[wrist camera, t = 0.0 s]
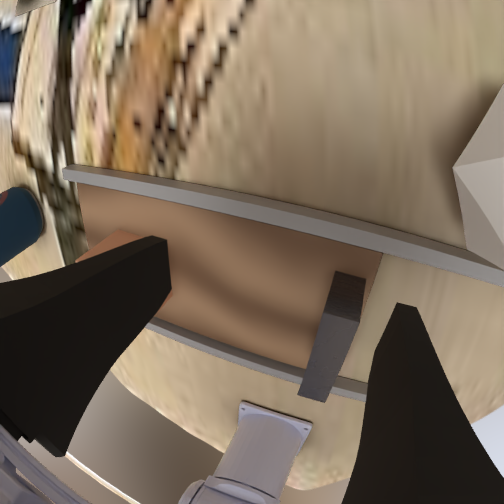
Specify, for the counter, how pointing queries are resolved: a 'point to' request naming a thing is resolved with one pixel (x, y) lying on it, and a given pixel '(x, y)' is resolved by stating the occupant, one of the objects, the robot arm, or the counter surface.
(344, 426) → the counter surface
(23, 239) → the soda can
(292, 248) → the large flat tan board
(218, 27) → the counter surface
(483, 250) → the die
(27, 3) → the condiment
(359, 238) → the lane rails
